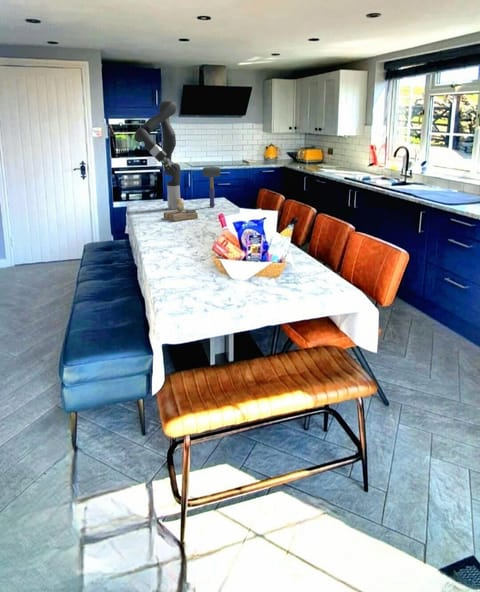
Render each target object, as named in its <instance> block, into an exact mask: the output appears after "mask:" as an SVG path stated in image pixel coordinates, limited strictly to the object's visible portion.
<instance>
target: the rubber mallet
mask: <svg viewBox="0 0 480 592" xmlns="http://www.w3.org/2000/svg"><path fill="white" fill-rule="evenodd" d="M202 176H203V177H204V178H209V207H210V208H215V205H216V203H215V188H214V178H216V177H217V178H219V177H221V168H220V167H219V166H207V167H204V166H203V168H202Z"/></svg>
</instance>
